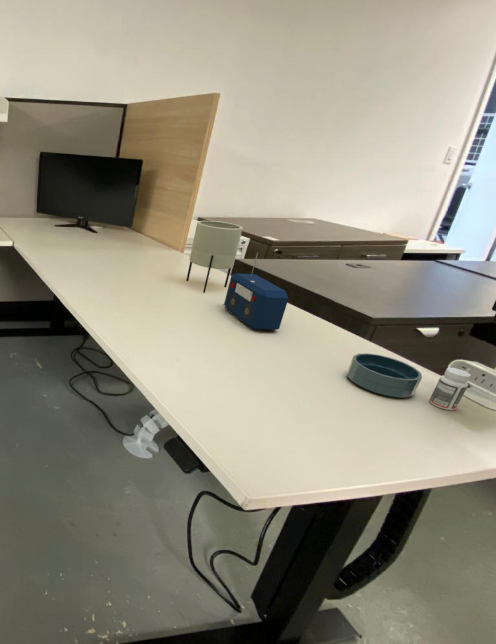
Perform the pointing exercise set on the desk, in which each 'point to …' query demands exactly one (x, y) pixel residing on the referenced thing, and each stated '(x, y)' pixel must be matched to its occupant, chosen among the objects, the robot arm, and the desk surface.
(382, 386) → the bowl
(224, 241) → the planter
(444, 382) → the pill bottle
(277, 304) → the radio
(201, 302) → the desk surface
